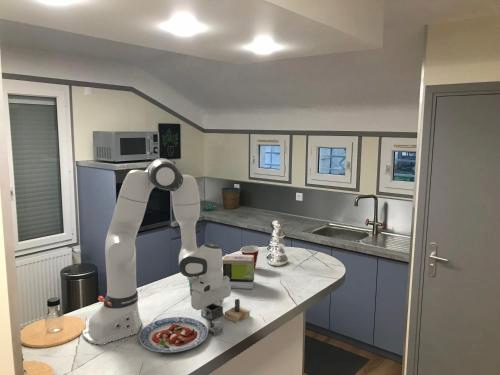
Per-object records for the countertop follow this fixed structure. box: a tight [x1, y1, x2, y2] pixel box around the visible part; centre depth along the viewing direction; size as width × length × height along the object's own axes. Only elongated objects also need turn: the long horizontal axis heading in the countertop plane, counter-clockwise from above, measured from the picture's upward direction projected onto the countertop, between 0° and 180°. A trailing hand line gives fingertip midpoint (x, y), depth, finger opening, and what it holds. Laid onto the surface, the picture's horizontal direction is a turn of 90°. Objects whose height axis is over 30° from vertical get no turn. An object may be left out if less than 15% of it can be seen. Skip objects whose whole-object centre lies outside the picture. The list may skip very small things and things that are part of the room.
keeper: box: [224, 298, 251, 324], centre depth 171 cm, size 8×7×8 cm
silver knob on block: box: [208, 319, 224, 338], centre depth 158 cm, size 5×3×5 cm, turn 139°
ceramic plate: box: [138, 316, 209, 354], centre depth 155 cm, size 26×26×3 cm
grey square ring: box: [200, 302, 224, 321], centre depth 172 cm, size 6×6×4 cm
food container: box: [186, 275, 201, 296], centre depth 191 cm, size 12×6×10 cm, turn 62°
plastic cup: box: [239, 245, 260, 270], centre depth 227 cm, size 11×11×12 cm
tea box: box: [222, 253, 255, 290], centre depth 204 cm, size 15×10×15 cm, turn 84°
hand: (212, 312), depth 172 cm, fingers closed on grey square ring, 6 cm apart
